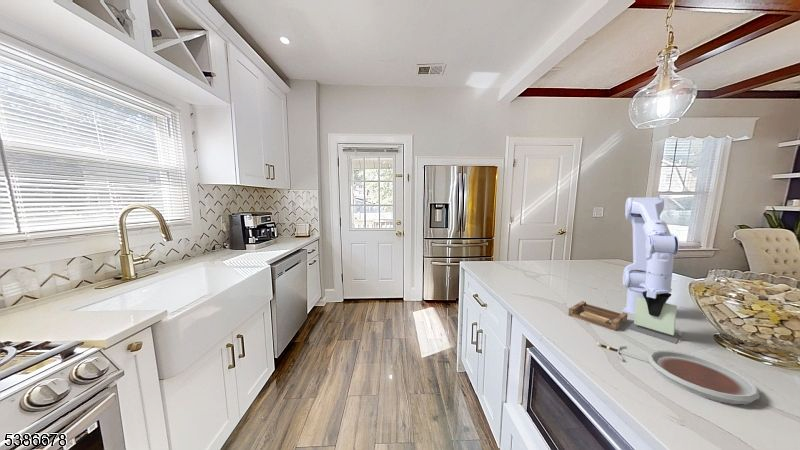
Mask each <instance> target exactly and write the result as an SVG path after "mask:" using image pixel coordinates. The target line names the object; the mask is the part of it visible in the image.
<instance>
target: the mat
mask: <svg viewBox="0 0 800 450" xmlns="http://www.w3.org/2000/svg"><path fill="white" fill-rule="evenodd" d="M626 329H628V330H631V331H634V332H636V333H639V334H642V335H643V334H644V335H646V336H649V337H652V338H656V339H659V340H662V341H666V342H669V343H672V344H674V345H676V344H677V343H678V342H679V340H680V339H681V337H682V334H679V333H677V332H675V333H674V335H670V334H667V333H664V332H660V331H657V330H653V329H650V328H646V327H643V326H640V325H636V324H634V321H633V322H632V323H631V324H629V325H628V326H627V327H626Z"/></svg>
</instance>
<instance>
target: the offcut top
mask: <svg viewBox="0 0 800 450" xmlns="http://www.w3.org/2000/svg"><path fill="white" fill-rule="evenodd" d="M579 315H581V316H584V317H587V318H590V319H594V320H597V321H600V322H603V323H606V324H608V323H609V324H611V321H610V319H607V318H604V317H601V316H598V315H595V314H591V313H588V312H585V311H584V312H579Z"/></svg>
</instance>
